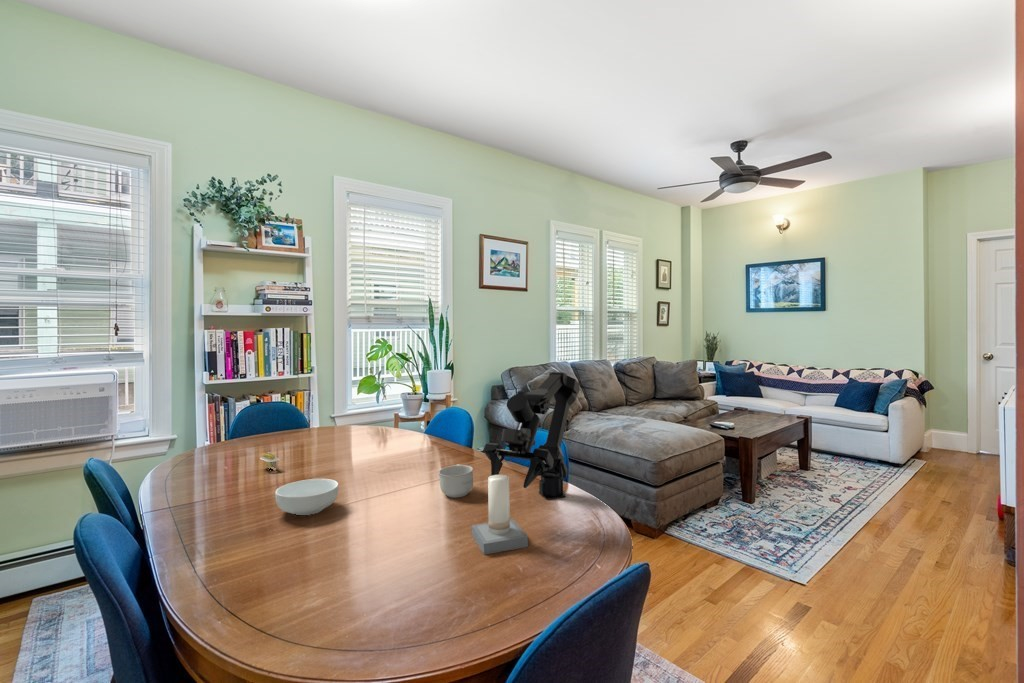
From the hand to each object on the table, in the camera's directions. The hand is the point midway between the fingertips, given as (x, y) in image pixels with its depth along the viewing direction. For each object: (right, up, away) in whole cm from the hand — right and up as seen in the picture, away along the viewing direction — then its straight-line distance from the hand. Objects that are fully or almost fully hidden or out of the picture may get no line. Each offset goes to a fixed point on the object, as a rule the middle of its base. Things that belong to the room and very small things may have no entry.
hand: (508, 484), depth 120 cm
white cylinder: (-2, -10, -4) cm, 11 cm away
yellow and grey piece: (-90, -12, +56) cm, 107 cm away
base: (-2, -12, -4) cm, 13 cm away
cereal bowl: (-58, -13, +16) cm, 62 cm away
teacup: (-16, -12, +30) cm, 36 cm away
